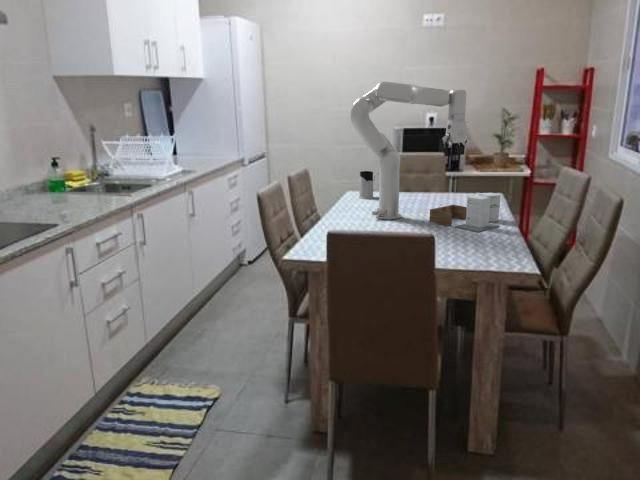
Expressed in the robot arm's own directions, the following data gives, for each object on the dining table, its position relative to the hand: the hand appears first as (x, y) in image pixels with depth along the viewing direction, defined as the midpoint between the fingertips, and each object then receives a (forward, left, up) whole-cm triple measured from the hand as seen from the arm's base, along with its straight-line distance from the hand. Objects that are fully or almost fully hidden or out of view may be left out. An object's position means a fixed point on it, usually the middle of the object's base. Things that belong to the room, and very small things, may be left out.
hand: (454, 155), depth 245 cm
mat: (-4, -18, -30) cm, 35 cm away
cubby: (-4, -4, -30) cm, 31 cm away
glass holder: (+9, +66, -31) cm, 73 cm away
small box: (-4, -18, -30) cm, 35 cm away
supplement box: (+11, -13, -31) cm, 35 cm away
